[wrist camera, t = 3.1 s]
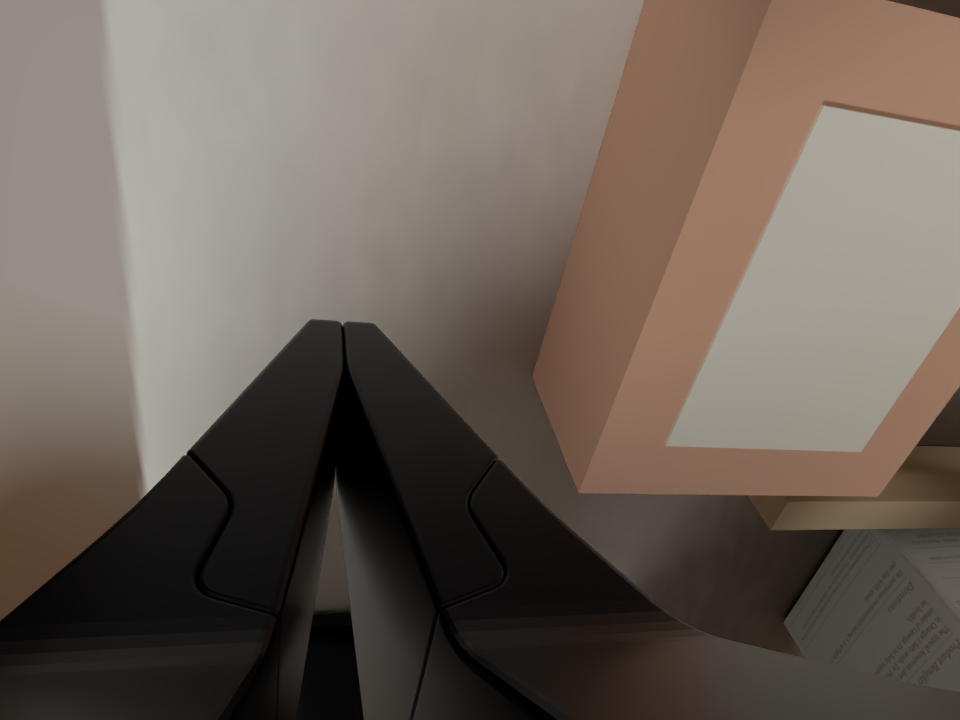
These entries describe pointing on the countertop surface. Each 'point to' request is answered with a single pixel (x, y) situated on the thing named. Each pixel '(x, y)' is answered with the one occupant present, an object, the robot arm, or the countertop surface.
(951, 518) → the u-shaped wooden frame
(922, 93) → the carton
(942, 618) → the supplement box
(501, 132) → the countertop surface
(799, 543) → the countertop surface
